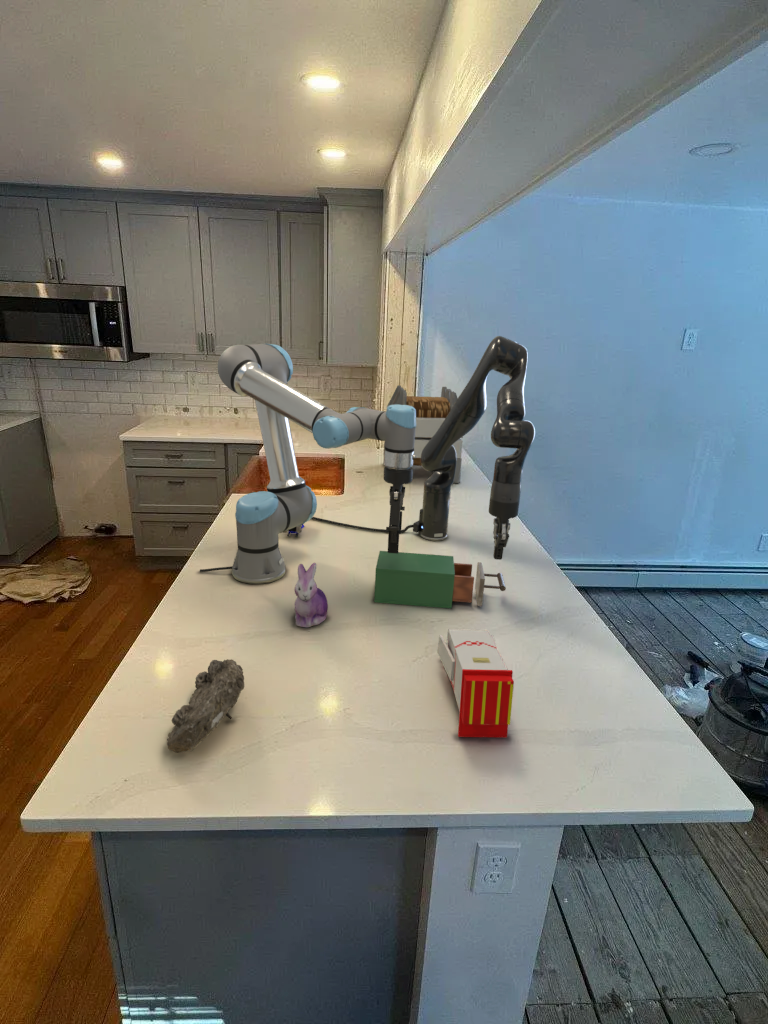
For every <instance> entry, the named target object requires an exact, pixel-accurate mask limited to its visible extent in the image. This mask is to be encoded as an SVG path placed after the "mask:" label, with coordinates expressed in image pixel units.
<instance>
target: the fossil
mask: <svg viewBox="0 0 768 1024" xmlns="http://www.w3.org/2000/svg"><path fill="white" fill-rule="evenodd" d="M243 670H244V669H243V667H242V665H240V664H237V662H236V661H235V660H234V659H232V658H231V659H227V658H226V659H224V660H223V661H222V660H217V659H212V660H211V661H210V663H209V665H208V666H207V671H201V672H199V673H198V674H197V675H196V676H195V680H194V684H195V685H194V687H195V689H194V690H193V693H192V694H191V697H190V698H189V700H188V704H184V705H182V706H181V707H180V709H177V710H176V711H175V713H174V715H173V716H172V718H171V723H172V724H173V727H172V730H171V731H170V732H168V734H167V738H166V741H167V742H166V745H167V749H168V750H169V751H173V752H174V753H176V754H178V753H182V752H188V751H189V752H192V751H193V750H195V748H196V747H197V746H199V744H200V743H201V742H203V741H204V740H205V739H206V738H207V737H208V736H209V735H210V734H211V733H212V732H214V730H215V729H217V727H218V726H219V724H220V722H221V721H222V720H223V719H224V718H225V716H226V717H227V719H229V720H233V717H232V715H230V714H229V710H230V709H231V708H234V706H235V704H236V703H237V702H238V699H239V697H240V695H241V693H242V691H243V690H245V689H244V688H245V675H244V671H243Z"/></svg>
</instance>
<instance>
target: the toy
mask: <svg viewBox="0 0 768 1024" xmlns="http://www.w3.org/2000/svg"><path fill="white" fill-rule="evenodd" d="M446 640H447V643H446V641H445V639H444V636H443V635H442V634H439V637H438V646H437V656H438V657H439V659H440V661H441V663H442V666H443V668H444V670H445V672H446V674H447V677H448V679H449V681H450V684H451V687H452V690H453V693H454V697H455V701H456V705H457V708H458V711H459V714H458V715H459V716H458V730H457V731H458V732H457V737H458V738H508V731H509V726H510V725H511V717H512V707H513V697H514V696H513V695H514V684H515V680H514V679H513V673H514V671H513V670H512V669H508V667H507V665H506V662H505V661H504V659H503V658H502V655H501V653H500V651H499V649H498V647H497V643H496V639H495V637H494V635H493V634H491V632H490V631H489V629H467V628H466V629H465V628H463V629H461V628H460V629H459V628H448V630H447V639H446Z"/></svg>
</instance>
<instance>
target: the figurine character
mask: <svg viewBox="0 0 768 1024" xmlns="http://www.w3.org/2000/svg"><path fill="white" fill-rule="evenodd" d="M304 528H305V524H303V525H300V526H296V527H294V528H291V529H289V530H287V531H284V532H282V533H285V534H287V537H290V535H291V534H292V535H294V534H295V538H298V537H299V534H301V533H302V530H303V529H304Z"/></svg>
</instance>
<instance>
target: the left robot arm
mask: <svg viewBox="0 0 768 1024" xmlns="http://www.w3.org/2000/svg"><path fill="white" fill-rule="evenodd" d="M217 373H218V377H219V379H220V381H221V382H222V383H223V385H224V386H225V387H227V388H228V389H229V390H230V391H232V392H233V393H235V394H237V395H239V396H241V397H250V398H251V399H253V400H254V403H255V408H256V412H257V419H258V423H259V429H260V433H261V438H262V445H263V448H264V454H265V459H266V464H267V471H268V474H269V475H268V476H269V480H270V481H269V483H268V484H267V485H266V491H264V490H262V491H261V490H259V491H257V492H255V491H253V492H250V493H246V494H244V495H243V496H241V497H240V498H239V499H238V500H237V501H236V504H235V514H234V517H235V525H236V526H235V527H236V543H237V549H236V554H235V557H234V560H233V563H232V566H231V565H230V566H222V567H212V568H203V569H199V572H200V573H206V572H207V573H208V572H215V571H225V570H231V574H232V577H233V579H234V580H236V581H239V582H240V583H244V584H249V585H262V584H263V585H264V584H269V583H272V582H276V581H278V580H279V579H282V578H283V577H284V576H285V574H286V563H285V559H284V556H283V555H282V553H281V550H280V546H279V545H280V543H279V537H280V535H279V534H281V533H283V532H284V531H287V530H289V529H291V528H294V527H296V526H300V525H305V524H306V523H307V522H309V521H310V520H312V519H311V518H312V517H315V514H316V512H317V507H318V501H317V496H316V493H315V492H314V491H313V490H312V488H311V487H310V486H309V485H307V484H306V480H305V478H303V477H301V476H300V474H299V468H298V462H297V457H296V452H295V451H296V450H295V447H294V441H293V436H292V430H291V424H290V422H293V423H294V424H296V425H298V426H299V427H301V428H303V429H304V430H306V431H308V432H309V433H311V434H312V437H313V440H314V441H315V442H316V445H318V446H319V447H321V448H323V449H328V450H329V449H337V448H340V447H344V446H347V445H349V444H353V443H357V442H360V441H364V440H368V439H369V440H376V441H381V442H385V452H384V451H383V463H384V464H385V465H386V466H384V467H383V481H384V482H385V483H387V484H391V485H390V486H389V491H388V493H389V506H390V508H389V519H388V526H386V527H385V530H389V533H388V539H387V551H388V553H396V554H398V552H399V545H400V544H399V543H400V535H402V533H401V530H402V526H403V525H402V523H403V511H404V512H405V510H406V507H405V506H403V505H404V498H405V494H406V486H404V485H408V484H411V483H412V482H413V478H414V468H413V467H414V466H413V458H416V455H413V454H414V443H415V430H416V410H415V408H414V407H412V406H409V405H399V404H396V405H389V406H388V407H387V406H386V411H383V410H378V409H372V408H367V407H364V406H361V407H358V406H353V407H350V408H349V409H348V410H347V411H346V412H343V413H341V412H340V413H339V412H338V411H335V410H334V409H331V408H330V407H328V406H326V405H325V404H323V403H321V402H320V401H318V400H316V399H314V398H312V397H310V396H309V395H306V394H305V393H303V392H302V391H299V390H298V389H297V388H294V387H292V386H291V385H289V384H288V383H289V382H290V380H291V379H292V376H293V374H294V365H293V361H292V359H291V356H290V355H289V353H288V352H287V350H285V348H283V347H282V346H280V345H278V344H274V343H254V344H235V345H230V346H229V347H228V348H226V349H225V350H224V351H222V353H221V354H220V356H219V358H218V361H217ZM384 464H383V465H384ZM287 532H288V531H287Z"/></svg>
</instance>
